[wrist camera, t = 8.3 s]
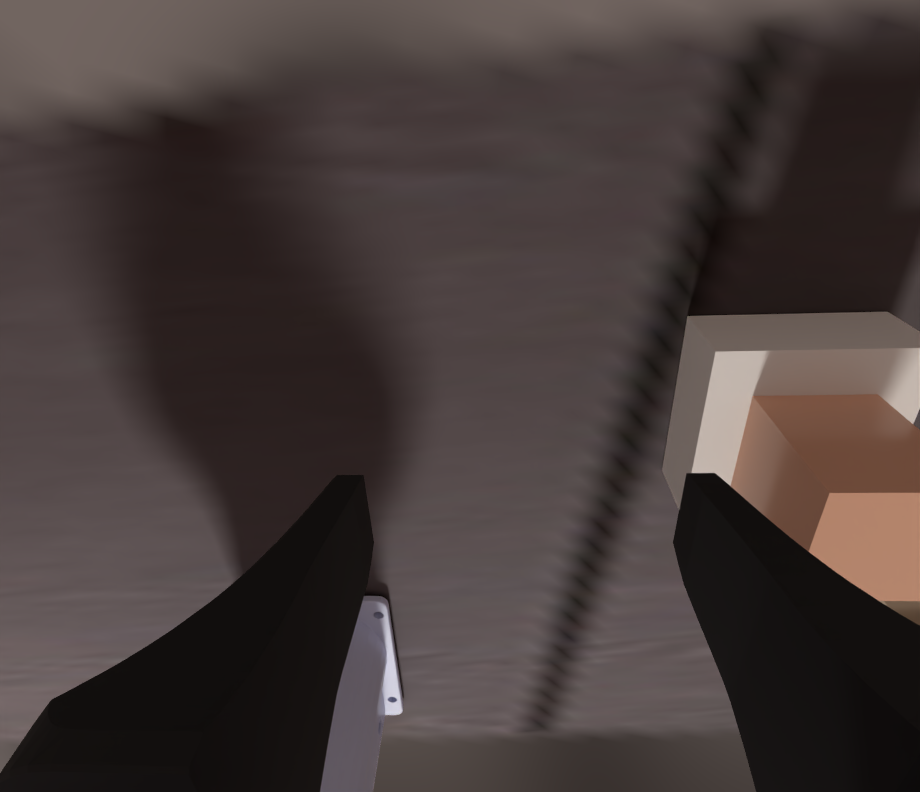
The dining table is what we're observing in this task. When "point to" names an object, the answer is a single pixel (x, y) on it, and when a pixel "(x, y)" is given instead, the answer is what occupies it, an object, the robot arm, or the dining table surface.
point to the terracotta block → (839, 484)
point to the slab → (778, 376)
